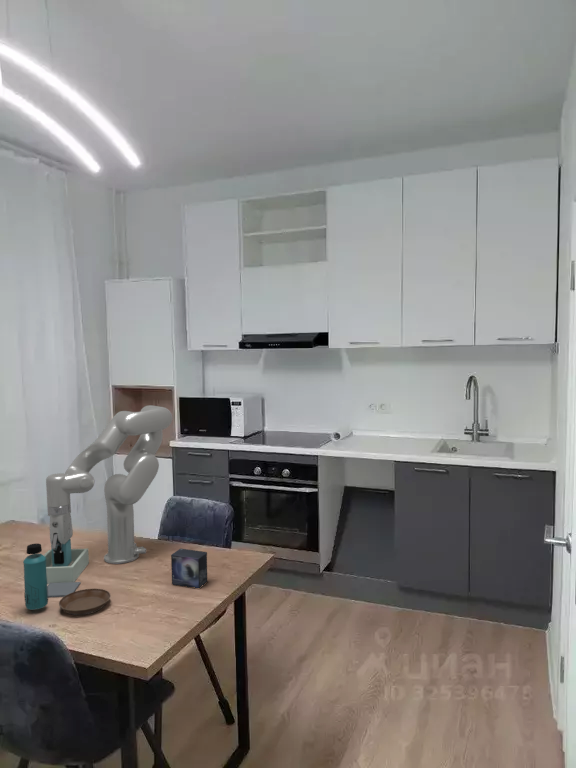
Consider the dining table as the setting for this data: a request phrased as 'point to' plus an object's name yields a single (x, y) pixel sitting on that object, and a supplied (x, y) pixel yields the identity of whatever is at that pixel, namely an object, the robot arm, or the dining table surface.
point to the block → (66, 554)
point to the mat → (62, 588)
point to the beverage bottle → (35, 578)
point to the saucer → (84, 601)
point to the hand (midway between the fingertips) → (62, 559)
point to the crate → (67, 567)
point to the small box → (189, 568)
